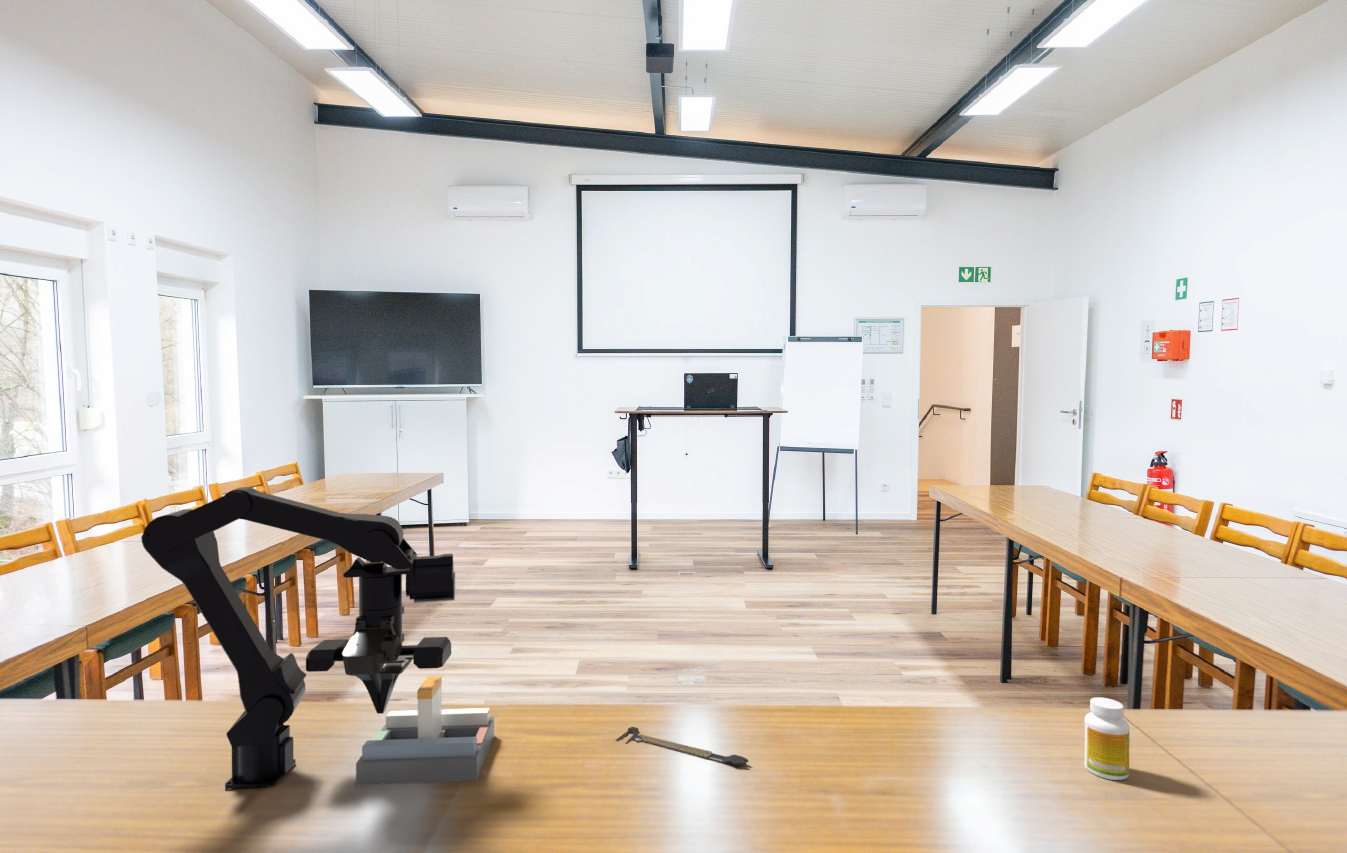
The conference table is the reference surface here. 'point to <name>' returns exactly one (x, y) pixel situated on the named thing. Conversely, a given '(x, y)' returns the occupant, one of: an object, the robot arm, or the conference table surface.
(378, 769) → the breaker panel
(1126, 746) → the supplement bottle
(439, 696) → the handle
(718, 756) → the tactical tomahawk
